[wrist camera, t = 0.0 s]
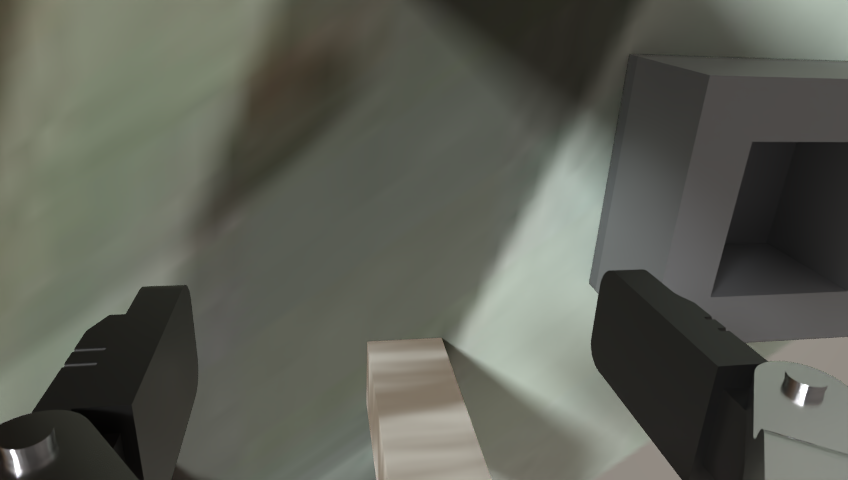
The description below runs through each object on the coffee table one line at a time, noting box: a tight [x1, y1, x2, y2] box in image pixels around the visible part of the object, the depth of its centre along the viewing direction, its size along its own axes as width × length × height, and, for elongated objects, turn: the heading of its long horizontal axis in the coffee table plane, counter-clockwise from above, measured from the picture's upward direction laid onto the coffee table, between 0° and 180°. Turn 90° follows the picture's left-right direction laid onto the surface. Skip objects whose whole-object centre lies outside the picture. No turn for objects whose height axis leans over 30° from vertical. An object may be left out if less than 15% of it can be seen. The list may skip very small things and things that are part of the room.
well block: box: [589, 54, 848, 343], centre depth 29 cm, size 12×12×6 cm
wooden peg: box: [367, 338, 492, 480], centre depth 28 cm, size 4×4×12 cm
